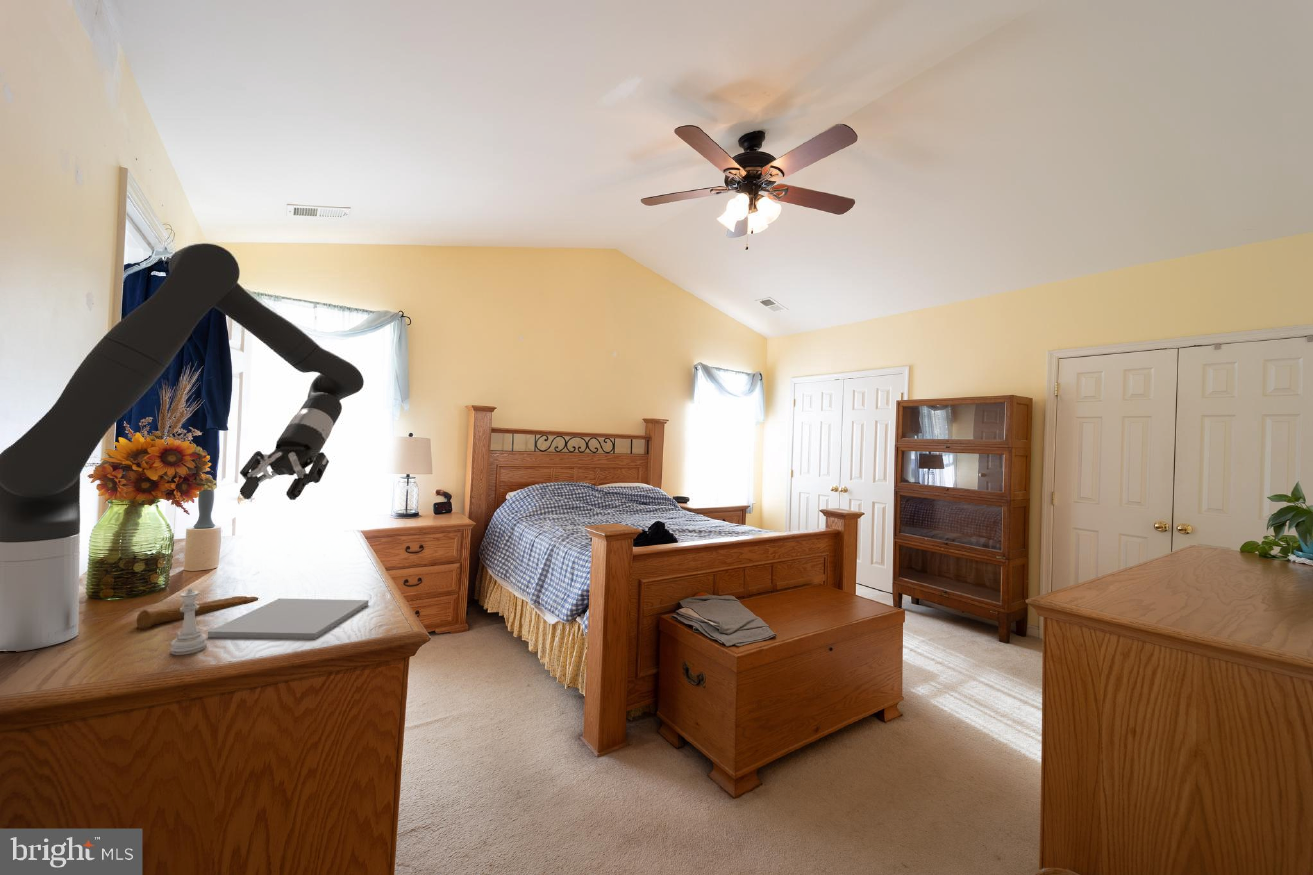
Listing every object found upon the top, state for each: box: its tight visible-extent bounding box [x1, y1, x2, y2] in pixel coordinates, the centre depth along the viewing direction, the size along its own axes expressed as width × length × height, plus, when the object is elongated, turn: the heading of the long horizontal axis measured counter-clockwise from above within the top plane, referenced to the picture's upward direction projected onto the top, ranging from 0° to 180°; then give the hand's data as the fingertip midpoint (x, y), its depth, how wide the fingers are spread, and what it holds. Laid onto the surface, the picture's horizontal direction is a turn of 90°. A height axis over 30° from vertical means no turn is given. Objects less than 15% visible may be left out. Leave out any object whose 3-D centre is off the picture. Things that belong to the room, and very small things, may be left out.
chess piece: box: [170, 587, 208, 656], centre depth 87 cm, size 4×4×10 cm
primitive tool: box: [136, 595, 260, 630], centre depth 103 cm, size 19×6×4 cm, turn 163°
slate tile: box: [207, 598, 369, 640], centre depth 101 cm, size 18×18×1 cm
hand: (267, 497), depth 101 cm, fingers open, 8 cm apart
